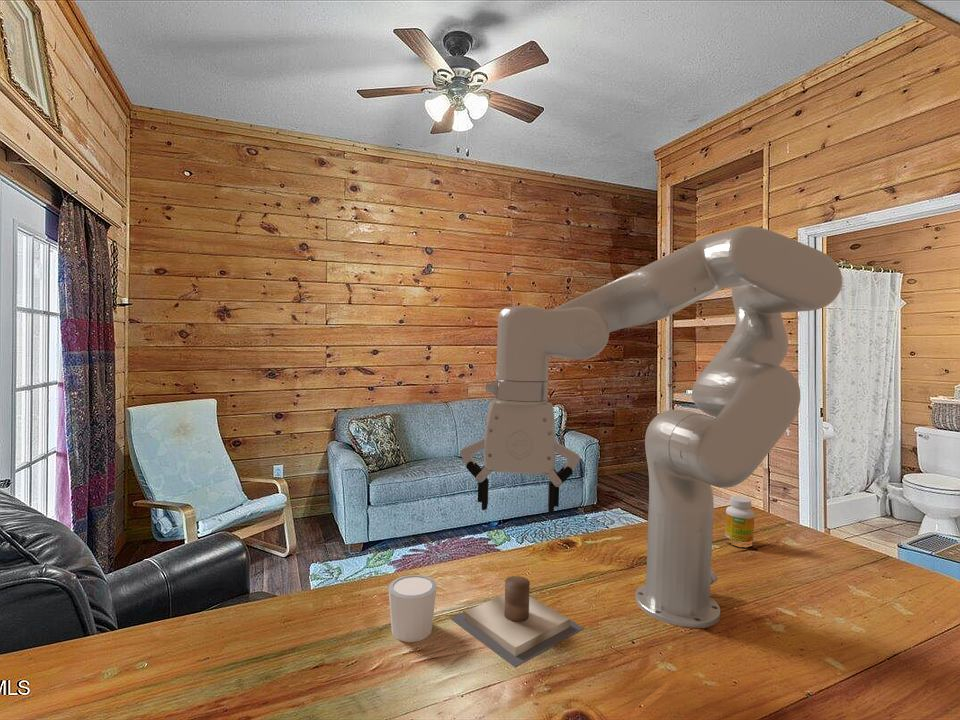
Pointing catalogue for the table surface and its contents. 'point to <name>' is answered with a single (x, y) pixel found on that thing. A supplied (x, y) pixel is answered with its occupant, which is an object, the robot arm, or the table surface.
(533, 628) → the lid
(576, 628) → the mat
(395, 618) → the white cup
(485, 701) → the table surface
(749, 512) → the supplement bottle
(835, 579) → the table surface
